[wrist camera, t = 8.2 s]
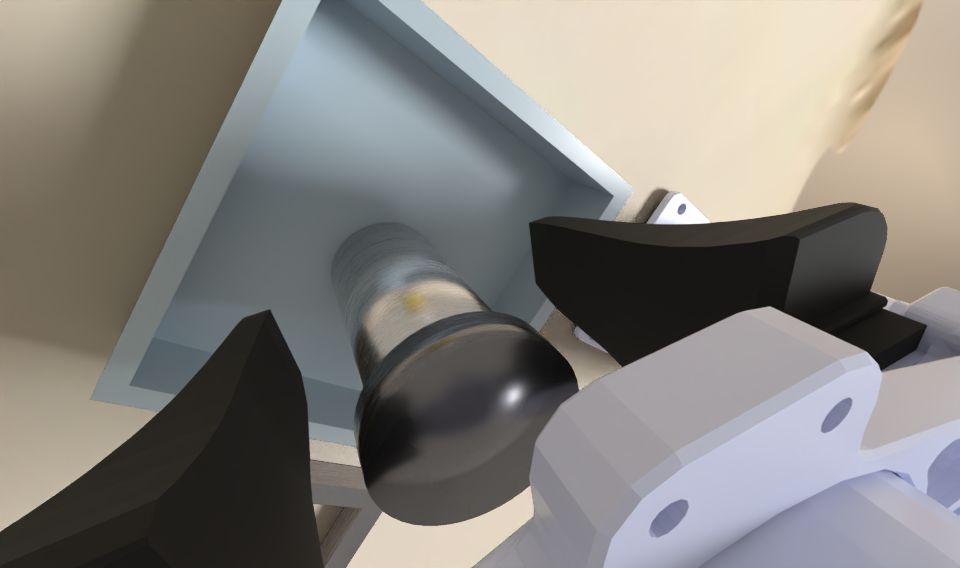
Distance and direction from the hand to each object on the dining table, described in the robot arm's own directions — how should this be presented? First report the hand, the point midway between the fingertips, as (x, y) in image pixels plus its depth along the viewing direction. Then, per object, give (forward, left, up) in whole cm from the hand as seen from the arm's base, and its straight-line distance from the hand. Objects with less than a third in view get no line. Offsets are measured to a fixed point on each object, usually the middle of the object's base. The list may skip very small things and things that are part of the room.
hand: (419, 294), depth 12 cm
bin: (0, 0, -4) cm, 4 cm away
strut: (0, +1, -4) cm, 4 cm away
